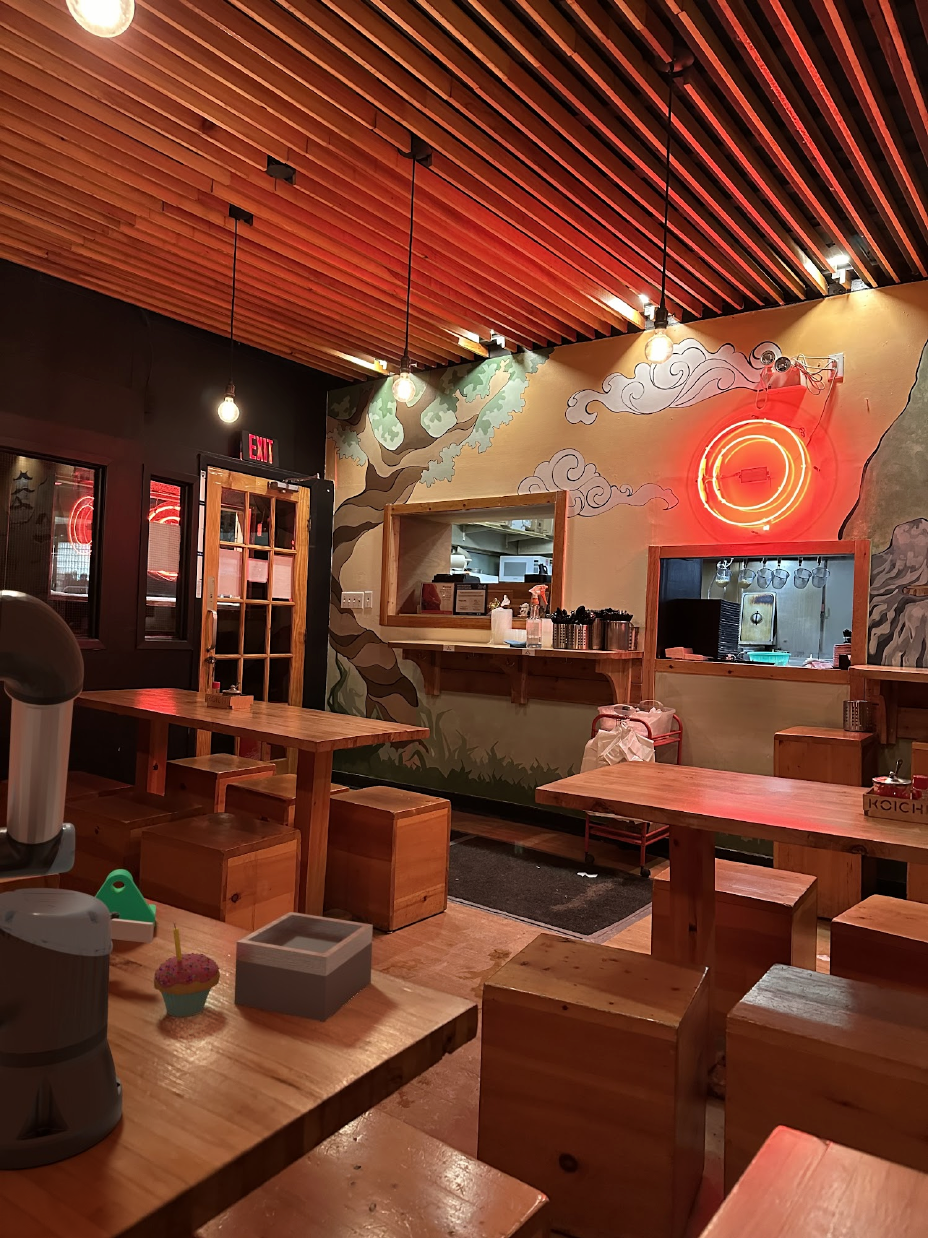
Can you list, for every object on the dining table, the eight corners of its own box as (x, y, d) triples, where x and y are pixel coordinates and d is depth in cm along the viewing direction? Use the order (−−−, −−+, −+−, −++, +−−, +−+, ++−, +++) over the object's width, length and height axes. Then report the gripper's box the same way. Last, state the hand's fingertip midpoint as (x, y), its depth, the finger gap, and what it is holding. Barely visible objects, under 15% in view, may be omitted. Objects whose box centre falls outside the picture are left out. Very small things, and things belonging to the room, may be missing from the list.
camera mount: (155, 919, 151) (157, 860, 151) (154, 933, 144) (156, 872, 144) (81, 924, 147) (84, 864, 147) (76, 939, 140) (79, 876, 140)
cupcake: (167, 1029, 109) (171, 935, 109) (141, 1007, 115) (145, 918, 116) (229, 1011, 115) (232, 922, 115) (201, 991, 121) (204, 906, 121)
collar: (326, 976, 113) (326, 957, 113) (236, 960, 117) (236, 941, 117) (372, 942, 126) (372, 924, 126) (289, 928, 130) (290, 912, 131)
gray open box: (324, 1022, 112) (326, 976, 113) (234, 1003, 117) (236, 960, 117) (370, 982, 126) (372, 942, 126) (288, 967, 130) (289, 928, 130)
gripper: (48, 931, 134) (171, 945, 129) (-83, 996, 109) (63, 1015, 105) (50, 883, 134) (173, 895, 130) (-81, 937, 109) (66, 954, 105)
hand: (124, 949), depth 117 cm, fingers open, 13 cm apart
